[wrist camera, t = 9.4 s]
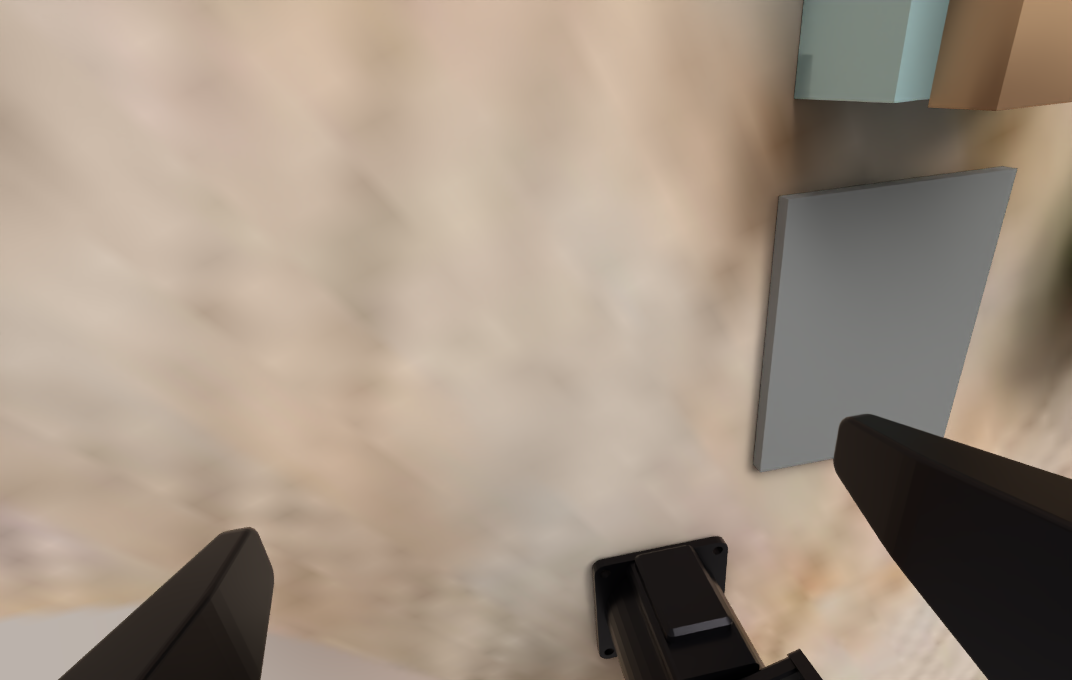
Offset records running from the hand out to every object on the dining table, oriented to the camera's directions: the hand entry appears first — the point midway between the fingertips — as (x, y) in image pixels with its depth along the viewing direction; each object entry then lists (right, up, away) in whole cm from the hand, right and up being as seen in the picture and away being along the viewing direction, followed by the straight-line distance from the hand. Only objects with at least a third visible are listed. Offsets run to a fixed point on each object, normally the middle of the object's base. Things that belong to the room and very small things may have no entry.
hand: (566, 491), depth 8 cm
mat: (+13, +3, +15) cm, 20 cm away
